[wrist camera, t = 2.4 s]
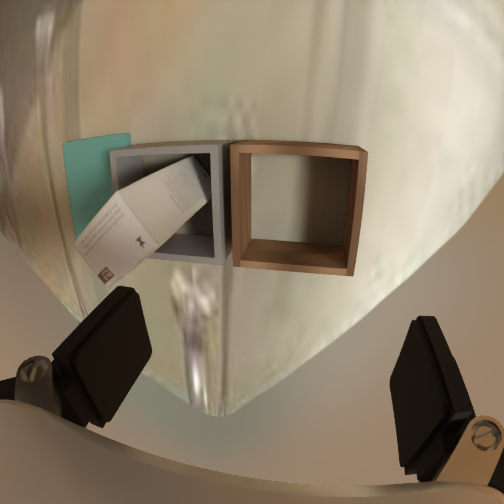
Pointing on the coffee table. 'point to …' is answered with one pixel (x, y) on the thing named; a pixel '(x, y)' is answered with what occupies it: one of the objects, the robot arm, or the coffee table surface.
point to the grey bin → (220, 245)
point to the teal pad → (90, 175)
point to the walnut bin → (294, 253)
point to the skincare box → (142, 218)
